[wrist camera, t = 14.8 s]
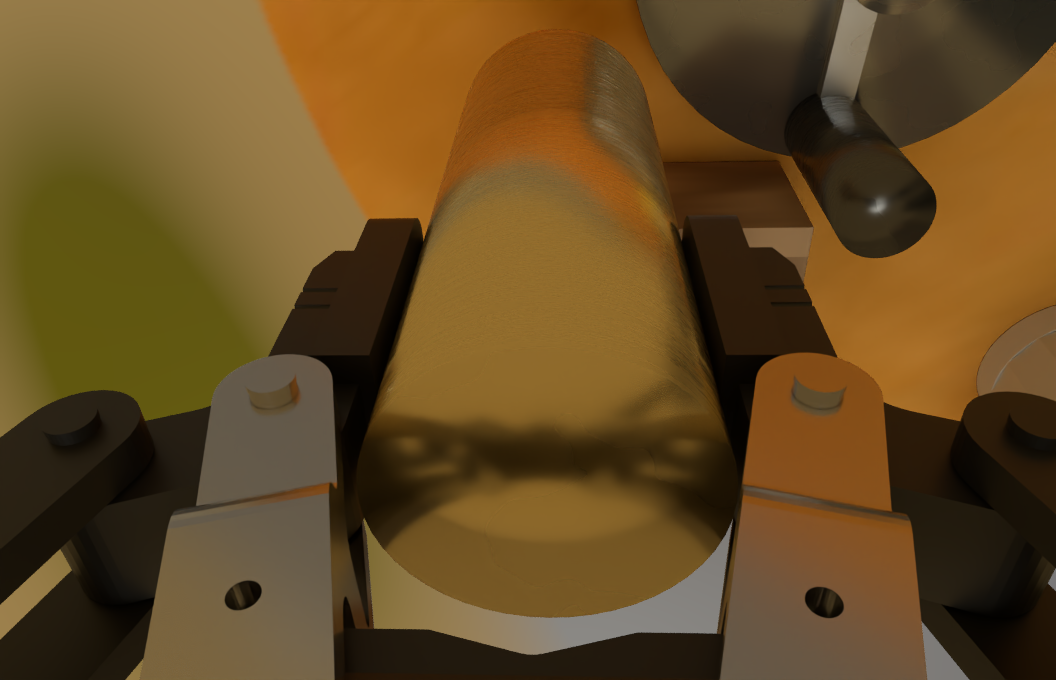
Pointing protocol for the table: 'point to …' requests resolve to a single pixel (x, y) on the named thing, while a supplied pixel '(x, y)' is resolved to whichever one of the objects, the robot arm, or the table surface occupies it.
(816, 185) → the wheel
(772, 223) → the block
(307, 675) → the robot arm
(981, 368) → the cup
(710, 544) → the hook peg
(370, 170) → the table surface
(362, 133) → the table surface
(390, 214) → the table surface
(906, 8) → the axle cap
